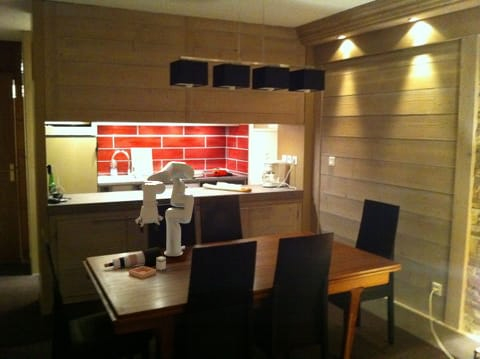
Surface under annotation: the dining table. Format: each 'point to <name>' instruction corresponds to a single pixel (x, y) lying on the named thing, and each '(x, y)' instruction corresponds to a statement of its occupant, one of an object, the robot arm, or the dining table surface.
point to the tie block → (160, 263)
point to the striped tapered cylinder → (136, 259)
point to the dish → (142, 272)
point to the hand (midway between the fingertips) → (149, 231)
